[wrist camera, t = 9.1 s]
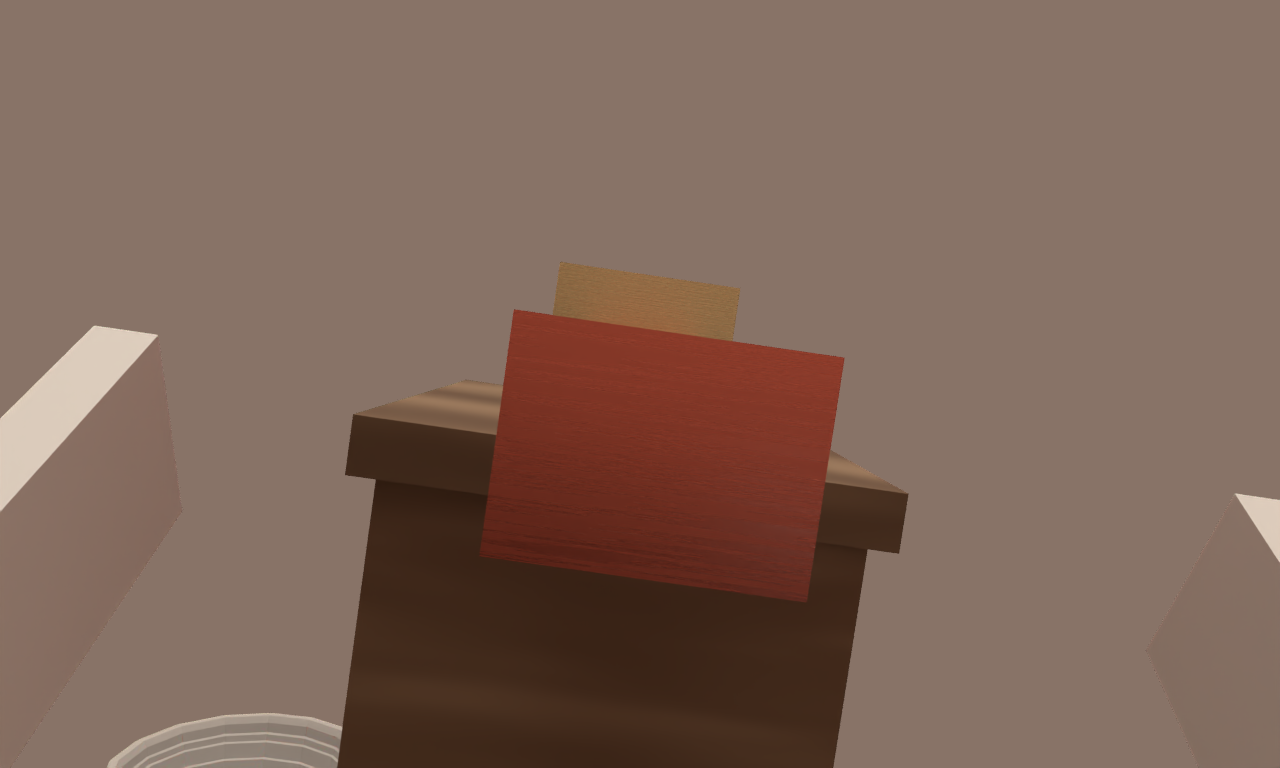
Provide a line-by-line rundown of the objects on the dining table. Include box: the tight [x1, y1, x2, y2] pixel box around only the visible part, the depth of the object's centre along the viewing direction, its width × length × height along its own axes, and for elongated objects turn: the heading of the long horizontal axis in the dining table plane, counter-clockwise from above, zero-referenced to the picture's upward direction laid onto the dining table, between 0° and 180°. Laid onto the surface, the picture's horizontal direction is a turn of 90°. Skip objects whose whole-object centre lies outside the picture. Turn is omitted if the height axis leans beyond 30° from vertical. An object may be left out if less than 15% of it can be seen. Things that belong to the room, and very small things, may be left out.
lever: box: [479, 262, 844, 602], centre depth 22 cm, size 24×5×4 cm, turn 1°
